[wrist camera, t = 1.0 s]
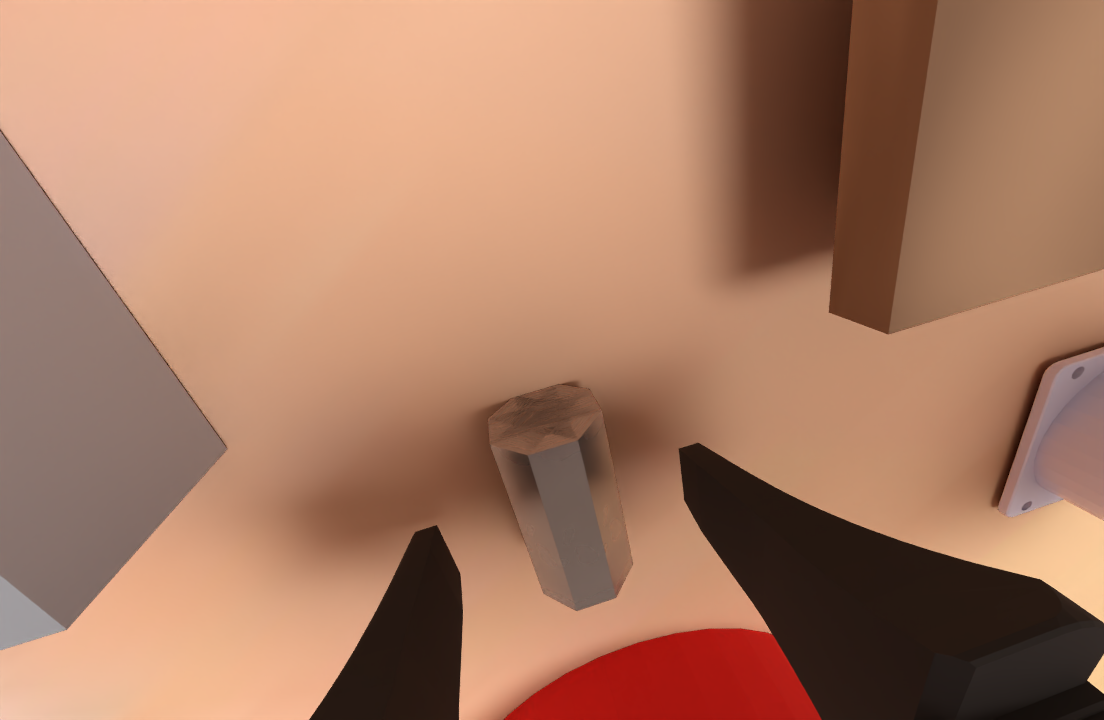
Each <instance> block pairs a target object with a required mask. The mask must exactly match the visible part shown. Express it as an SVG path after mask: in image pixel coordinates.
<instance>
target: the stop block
mask: <svg viewBox="0 0 1104 720" xmlns="http://www.w3.org/2000/svg"><path fill="white" fill-rule="evenodd" d="M226 450H227V448H226V446H225V445H224V444H223V442H222V441H221V439H220V438H219V437H218V435H217V434H216V432H215V431H214V430H213V428H212V427H211V425H210V424H209V423H208V421H207V420H206V418H205V417H204V416H203V414H202V413H201V411H200V410H199V409H198V407H197V406H196V404H195V403H194V402H193V400H192V399H191V397H190V396H189V395H188V393H187V392H186V390H185V389H184V388H183V386H182V385H181V383H180V382H179V381H178V379H177V378H176V376H175V375H174V374H173V372H172V371H171V369H170V368H169V367H168V365H167V364H166V362H165V361H164V360H163V358H162V357H161V355H160V354H159V353H158V351H157V350H156V348H155V347H154V346H153V344H152V343H151V341H150V340H149V339H148V337H147V336H146V334H145V333H144V332H143V330H142V329H141V328H140V326H139V325H138V323H137V322H136V321H135V319H134V318H133V316H132V315H131V314H130V312H129V311H128V309H127V308H126V307H125V305H124V304H123V302H122V301H121V300H120V298H119V297H118V295H117V294H116V293H115V291H114V290H113V288H112V287H111V286H110V284H109V283H108V281H107V280H106V279H105V277H104V276H103V274H102V273H101V272H100V270H99V269H98V267H97V266H96V265H95V263H94V262H93V260H92V259H91V258H90V256H89V255H88V253H87V252H86V251H85V249H84V248H83V246H82V245H81V244H80V242H79V241H78V239H77V238H76V237H75V235H74V234H73V232H72V231H71V230H70V228H69V227H68V225H67V224H66V223H65V221H64V220H63V218H62V217H61V216H60V214H59V213H58V211H57V210H56V209H55V207H54V206H53V204H52V203H51V202H50V200H49V199H48V197H47V196H46V195H45V193H44V192H43V190H42V189H41V188H40V186H39V185H38V183H37V182H36V181H35V179H34V178H33V176H32V175H31V174H30V172H29V171H28V169H27V168H26V167H25V165H24V164H23V162H22V161H21V160H20V158H19V157H18V155H17V154H16V153H15V151H14V150H13V148H12V147H11V146H10V144H9V143H8V141H7V140H6V139H5V137H4V136H3V134H2V133H1V132H0V650H3V649H6V648H9V647H13V646H16V645H19V644H22V643H25V642H29V641H32V640H35V639H38V638H42V637H45V636H48V635H51V634H54V633H58V632H61V631H64V630H67V629H68V628H69V627H70V626H71V624H72V623H73V622H74V621H75V620H76V619H77V618H78V617H79V615H80V614H81V613H82V612H83V611H84V610H85V609H86V608H87V606H88V605H89V604H90V603H91V602H92V601H93V600H94V599H95V597H96V596H97V595H98V594H99V593H100V592H101V591H102V590H103V588H104V587H105V586H106V585H107V584H108V583H109V582H110V581H111V579H112V578H113V577H114V576H115V575H116V574H117V573H118V572H119V570H120V569H121V568H122V567H123V566H124V565H125V564H126V563H127V561H128V560H129V559H130V558H131V557H132V556H133V555H134V554H135V552H136V551H137V550H138V549H139V548H140V547H141V546H142V545H143V543H144V542H145V541H146V540H147V539H148V538H149V537H150V536H151V534H152V533H153V532H154V531H155V530H156V529H157V528H158V527H159V525H160V524H161V523H162V522H163V521H164V520H165V519H166V518H167V516H168V515H169V514H170V513H171V512H172V511H173V510H174V509H175V507H176V506H177V505H178V504H179V503H180V502H181V501H182V500H183V498H184V497H185V496H186V495H187V494H188V493H189V492H190V491H191V489H192V488H193V487H194V486H195V485H196V484H197V483H198V482H199V480H200V479H201V478H202V477H203V476H204V475H205V474H206V473H207V471H208V470H209V469H210V468H211V467H212V466H213V465H214V464H215V462H216V461H217V460H218V459H219V458H220V457H221V456H222V455H223V453H224V452H225V451H226Z"/></svg>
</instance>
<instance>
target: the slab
mask: <svg viewBox="0 0 1104 720" xmlns="http://www.w3.org/2000/svg"><path fill="white" fill-rule="evenodd" d="M1103 269H1104V0H853V7H852V20H851V33H850V46H849V59H848V72H847V85H846V98H845V111H844V124H843V137H842V150H841V163H840V176H839V189H838V202H837V215H836V228H835V240H834V253H833V266H832V279H831V292H830V305H829V313H832V314H835V315H837V316H840V317H843V318H845V319H848V320H851V321H854V322H856V323H859V324H862V325H864V326H867V327H870V328H872V329H875V330H878V331H881V332H883V333H886V334H891V333H895V332H898V331H901V330H905V329H908V328H911V327H914V326H918V325H921V324H924V323H928V322H931V321H934V320H938V319H941V318H944V317H947V316H951V315H954V314H957V313H961V312H964V311H967V310H971V309H974V308H977V307H980V306H984V305H987V304H990V303H994V302H997V301H1000V300H1004V299H1007V298H1010V297H1013V296H1017V295H1020V294H1023V293H1027V292H1030V291H1033V290H1037V289H1040V288H1043V287H1046V286H1050V285H1053V284H1056V283H1060V282H1063V281H1066V280H1070V279H1073V278H1076V277H1079V276H1083V275H1086V274H1089V273H1093V272H1096V271H1099V270H1103Z"/></svg>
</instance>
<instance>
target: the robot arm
mask: <svg viewBox="0 0 1104 720" xmlns="http://www.w3.org/2000/svg"><path fill="white" fill-rule="evenodd" d="M679 455H680V464H681V474H682V483H683V492H684V500H685V502H686V504H687V506H688V508H689V510H690V511H691V513H692V515H693V517H694V519H695V521H696V522H697V524H698V526H699V528H700V529H701V531H702V533H703V534H704V536H705V537H706V538H707V540H708V541H709V543H710V544H711V545H712V547H713V548H714V550H715V551H716V552H717V554H718V555H719V557H720V558H721V559H722V561H723V562H724V564H725V565H726V566H727V568H728V569H729V571H730V572H731V573H732V575H733V576H734V578H735V579H736V580H737V582H738V583H739V585H740V586H741V587H742V589H743V590H744V591H745V593H746V594H747V596H748V597H749V598H750V600H751V601H752V603H753V604H754V606H755V607H756V609H757V610H758V612H759V613H760V615H761V616H762V618H763V619H764V621H765V622H766V624H767V626H768V627H769V629H770V631H771V633H772V634H773V636H774V638H775V639H776V641H777V643H778V644H779V646H780V648H781V649H782V651H783V653H784V654H785V656H786V658H787V659H788V661H789V663H790V665H791V666H792V668H793V670H794V672H795V673H796V675H797V677H798V679H799V680H800V682H801V684H802V686H803V687H804V689H805V691H806V693H807V694H808V696H809V698H810V700H811V701H812V703H813V705H814V707H815V709H816V710H817V712H818V714H819V716H820V718H821V719H822V720H1104V694H1103V693H1102V692H1101V691H1099V690H1098V689H1097V688H1096V687H1094V686H1093V685H1092V684H1091V683H1090V682H1088V681H1087V679H1088V678H1089V676H1090V675H1091V673H1092V672H1093V670H1094V668H1095V667H1096V665H1097V664H1098V662H1099V661H1100V659H1101V657H1102V656H1103V654H1104V623H1103V622H1102V621H1100V620H1099V619H1097V618H1096V617H1094V616H1093V615H1091V614H1090V613H1089V612H1087V611H1086V610H1084V609H1083V608H1081V607H1080V606H1079V605H1077V604H1076V603H1074V602H1073V601H1071V600H1070V599H1068V598H1067V597H1066V596H1064V595H1063V594H1061V593H1060V592H1058V591H1057V590H1056V589H1054V588H1053V587H1051V586H1050V585H1048V584H1046V583H1045V582H1043V581H1042V580H1040V579H1036V578H1032V577H1028V576H1024V575H1020V574H1016V573H1012V572H1008V571H1004V570H1000V569H996V568H992V567H988V566H984V565H980V564H976V563H972V562H968V561H965V560H961V559H958V558H954V557H951V556H948V555H944V554H941V553H938V552H934V551H931V550H927V549H924V548H921V547H918V546H915V545H912V544H909V543H906V542H903V541H900V540H897V539H894V538H891V537H889V536H886V535H883V534H880V533H877V532H875V531H872V530H869V529H866V528H864V527H861V526H859V525H856V524H853V523H851V522H848V521H846V520H844V519H841V518H839V517H837V516H834V515H832V514H830V513H827V512H825V511H822V510H820V509H818V508H816V507H814V506H811V505H809V504H807V503H805V502H803V501H801V500H799V499H797V498H795V497H793V496H791V495H789V494H787V493H785V492H783V491H781V490H779V489H777V488H775V487H773V486H772V485H770V484H768V483H766V482H764V481H763V480H761V479H759V478H757V477H755V476H754V475H752V474H750V473H748V472H747V471H745V470H743V469H741V468H740V467H738V466H736V465H735V464H733V463H731V462H730V461H728V460H726V459H725V458H723V457H721V456H720V455H718V454H716V453H715V452H713V451H711V450H710V449H708V448H706V447H705V446H703V445H701V444H700V443H696V444H693V445H689V446H686V447H683V448H680V449H679ZM1063 499H1064V500H1066V501H1068V502H1070V503H1072V504H1074V505H1076V506H1077V507H1079V508H1081V509H1083V510H1085V511H1087V512H1089V513H1090V514H1092V515H1094V516H1096V517H1098V518H1100V519H1102V520H1103V521H1104V347H1102V348H1099V349H1096V350H1092V351H1089V352H1086V353H1083V354H1080V355H1077V356H1074V357H1071V358H1067V359H1064V360H1061V361H1058V362H1056V363H1053V364H1052V365H1051V366H1049V367H1048V368H1047V370H1046V371H1045V373H1044V374H1043V377H1042V380H1041V383H1040V386H1039V389H1038V392H1037V394H1036V397H1035V400H1034V403H1033V406H1032V409H1031V412H1030V415H1029V418H1028V421H1027V424H1026V426H1025V429H1024V432H1023V435H1022V438H1021V441H1020V444H1019V447H1018V450H1017V453H1016V456H1015V458H1014V461H1013V464H1012V467H1011V470H1010V473H1009V476H1008V479H1007V482H1006V485H1005V488H1004V490H1003V493H1002V496H1001V499H1000V502H999V505H998V510H999V512H1001V513H1002V514H1004V515H1005V516H1007V517H1014V516H1017V515H1020V514H1023V513H1026V512H1029V511H1032V510H1034V509H1037V508H1040V507H1043V506H1046V505H1049V504H1052V503H1055V502H1057V501H1060V500H1063ZM462 624H463V605H462V590H461V577H460V572H459V570H458V568H457V566H456V564H455V562H454V560H453V558H452V555H451V553H450V551H449V549H448V547H447V545H446V543H445V541H444V539H443V537H442V535H441V533H440V531H439V529H438V527H437V525H436V526H433V527H430V528H426V529H423V530H420V531H417V532H415V534H414V535H413V537H412V539H411V541H410V543H409V545H408V547H407V550H406V552H405V554H404V556H403V558H402V560H401V562H400V564H399V567H398V569H397V571H396V573H395V575H394V577H393V579H392V581H391V583H390V585H389V587H388V589H387V591H386V593H385V595H384V597H383V599H382V601H381V603H380V604H379V606H378V608H377V610H376V612H375V614H374V616H373V618H372V620H371V621H370V623H369V625H368V627H367V628H366V630H365V632H364V634H363V636H362V637H361V639H360V641H359V643H358V644H357V646H356V648H355V650H354V651H353V653H352V655H351V656H350V658H349V660H348V661H347V663H346V665H345V666H344V668H343V670H342V671H341V673H340V674H339V676H338V678H337V679H336V681H335V682H334V684H333V685H332V687H331V688H330V690H329V691H328V693H327V695H326V696H325V698H324V699H323V701H322V702H321V703H320V705H319V706H318V708H317V709H316V711H315V712H314V714H313V715H312V716H311V718H310V719H309V720H459V692H460V670H461V648H462Z"/></svg>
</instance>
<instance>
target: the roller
mask: <svg viewBox="0 0 1104 720" xmlns="http://www.w3.org/2000/svg"><path fill="white" fill-rule="evenodd" d="M488 429H489V441H490V447H491V449H492V452H493V455H494V458H495V460H496V463H497V466H498V469H499V472H500V474H501V477H502V480H503V483H504V485H505V488H506V491H507V494H508V496H509V499H510V502H511V505H512V508H513V510H514V513H515V516H516V519H517V521H518V524H519V527H520V530H521V532H522V535H523V538H524V541H525V544H526V546H527V549H528V552H529V555H530V557H531V560H532V563H533V566H534V568H535V571H536V574H537V577H538V580H539V582H540V585H541V588H542V591H543V593H544V594H545V595H547V596H549V597H551V598H553V599H555V600H557V601H558V602H560V603H562V604H564V605H566V606H568V607H570V608H572V609H574V610H576V611H578V610H581V609H584V608H587V607H590V606H593V605H596V604H599V603H602V602H605V601H608V600H611V599H614V598H616V597H617V595H618V593H619V591H620V589H621V587H622V585H623V583H624V581H625V579H626V577H627V575H628V573H629V571H630V569H631V567H632V565H633V561H632V557H631V552H630V547H629V542H628V537H627V532H626V527H625V522H624V517H623V512H622V507H621V502H620V497H619V492H618V487H617V482H616V477H615V472H614V467H613V463H612V458H611V453H610V448H609V443H608V438H607V433H606V428H605V423H604V418H603V413H602V410H601V408H600V406H599V405H598V403H597V401H596V400H595V398H594V396H593V394H592V393H591V391H590V389H587V388H580V387H573V386H567V385H560V384H558V385H555V386H551V387H548V388H545V389H541V390H538V391H534V392H531V393H528V394H524V395H521V396H517V397H514V398H511V399H510V400H509V401H507V402H506V403H505V404H504V405H503V406H502V407H501V408H499V409H498V410H497V411H496V412H495V413H494V414H493V415H492V416H490V417H489V418H488Z"/></svg>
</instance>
